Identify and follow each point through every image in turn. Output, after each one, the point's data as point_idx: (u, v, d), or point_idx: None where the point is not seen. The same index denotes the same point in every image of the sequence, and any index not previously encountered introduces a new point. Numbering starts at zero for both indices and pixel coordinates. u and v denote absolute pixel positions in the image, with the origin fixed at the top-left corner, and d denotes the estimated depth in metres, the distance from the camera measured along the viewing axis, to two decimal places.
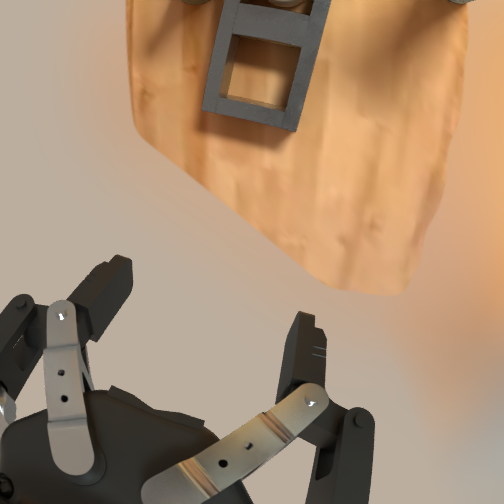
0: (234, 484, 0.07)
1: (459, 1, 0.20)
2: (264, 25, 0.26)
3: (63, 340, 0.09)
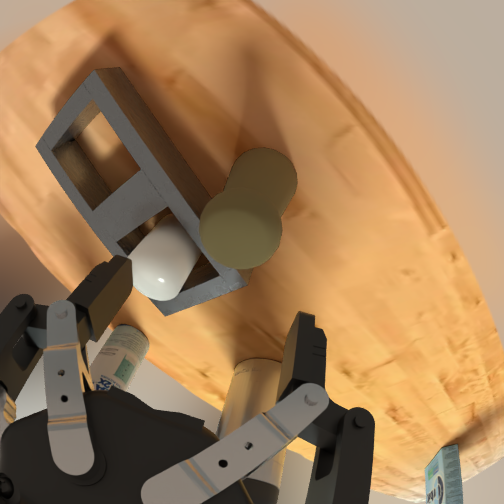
0: (234, 484, 0.07)
1: (112, 333, 0.42)
2: (128, 202, 0.26)
3: (63, 340, 0.09)
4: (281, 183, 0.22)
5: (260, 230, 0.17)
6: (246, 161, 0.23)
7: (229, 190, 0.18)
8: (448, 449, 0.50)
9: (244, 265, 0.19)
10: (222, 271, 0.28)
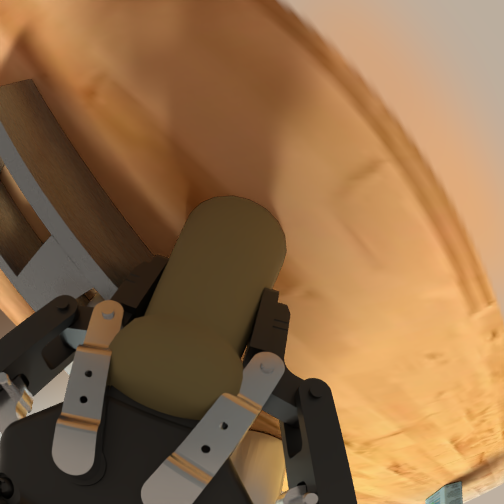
0: (222, 466, 0.07)
1: None
2: (48, 275, 0.17)
3: (102, 341, 0.09)
4: (253, 276, 0.13)
5: (197, 416, 0.08)
6: (197, 229, 0.14)
7: (140, 329, 0.09)
8: (451, 487, 0.41)
9: None
10: None
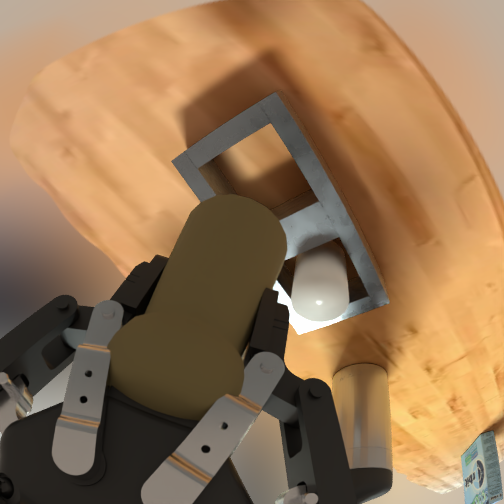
0: (222, 466, 0.07)
1: None
2: (295, 231, 0.28)
3: (102, 341, 0.09)
4: (254, 275, 0.13)
5: (198, 415, 0.08)
6: (198, 227, 0.14)
7: (140, 327, 0.09)
8: (486, 435, 0.52)
9: None
10: (372, 292, 0.30)
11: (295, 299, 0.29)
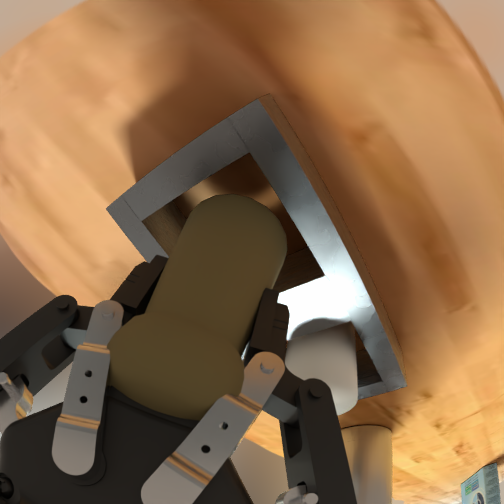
0: (222, 466, 0.07)
1: None
2: None
3: (102, 341, 0.09)
4: (253, 274, 0.13)
5: (198, 415, 0.08)
6: (198, 227, 0.14)
7: (140, 327, 0.09)
8: (488, 468, 0.43)
9: None
10: (387, 377, 0.21)
11: None
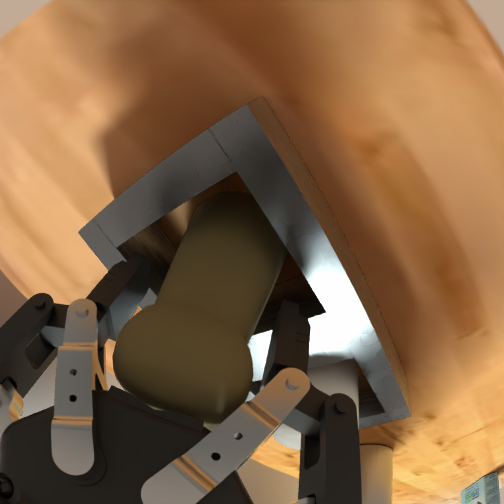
0: (230, 476, 0.07)
1: None
2: None
3: (80, 339, 0.09)
4: (259, 268, 0.13)
5: (208, 399, 0.08)
6: (205, 222, 0.14)
7: (153, 315, 0.09)
8: (489, 477, 0.41)
9: None
10: (390, 409, 0.19)
11: (279, 435, 0.17)
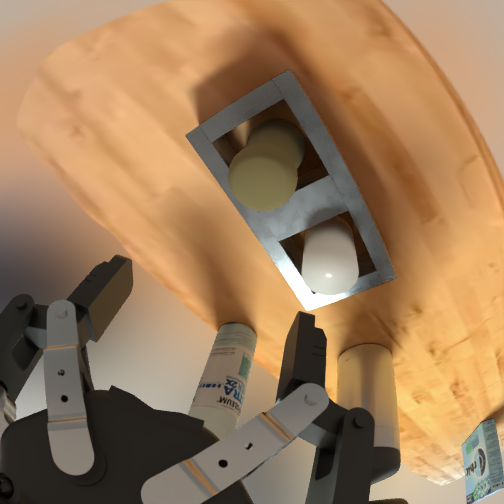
0: (234, 484, 0.07)
1: (219, 332, 0.45)
2: (305, 204, 0.29)
3: (63, 340, 0.09)
4: (294, 145, 0.25)
5: (281, 174, 0.21)
6: (264, 128, 0.27)
7: (254, 144, 0.21)
8: (487, 423, 0.54)
9: (266, 206, 0.22)
10: (379, 267, 0.31)
11: (305, 272, 0.29)
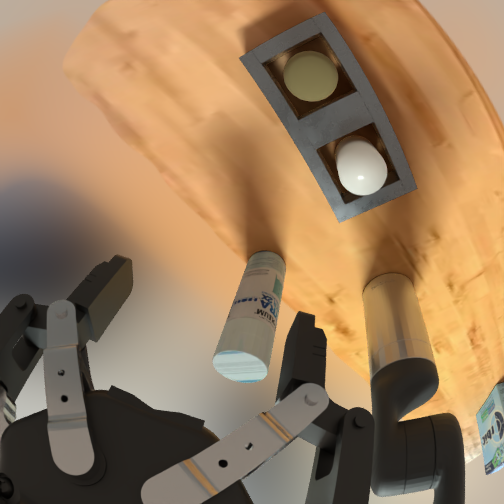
0: (234, 484, 0.07)
1: (250, 260, 0.48)
2: (339, 115, 0.31)
3: (63, 340, 0.09)
4: None
5: (327, 68, 0.23)
6: None
7: None
8: (501, 385, 0.56)
9: (315, 93, 0.25)
10: (402, 176, 0.33)
11: (342, 170, 0.32)
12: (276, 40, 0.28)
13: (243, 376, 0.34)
